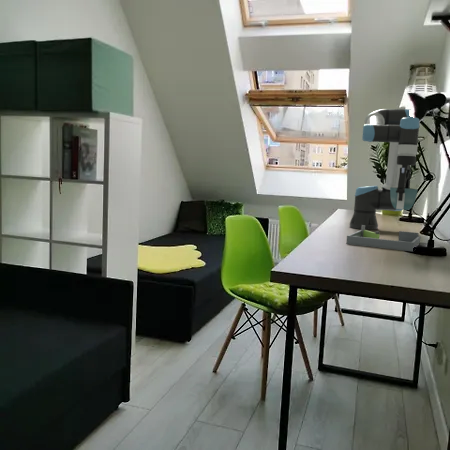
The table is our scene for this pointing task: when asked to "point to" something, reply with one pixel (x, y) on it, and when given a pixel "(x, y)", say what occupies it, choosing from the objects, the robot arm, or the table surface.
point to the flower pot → (408, 200)
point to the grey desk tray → (404, 243)
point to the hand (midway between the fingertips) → (402, 208)
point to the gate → (371, 234)
